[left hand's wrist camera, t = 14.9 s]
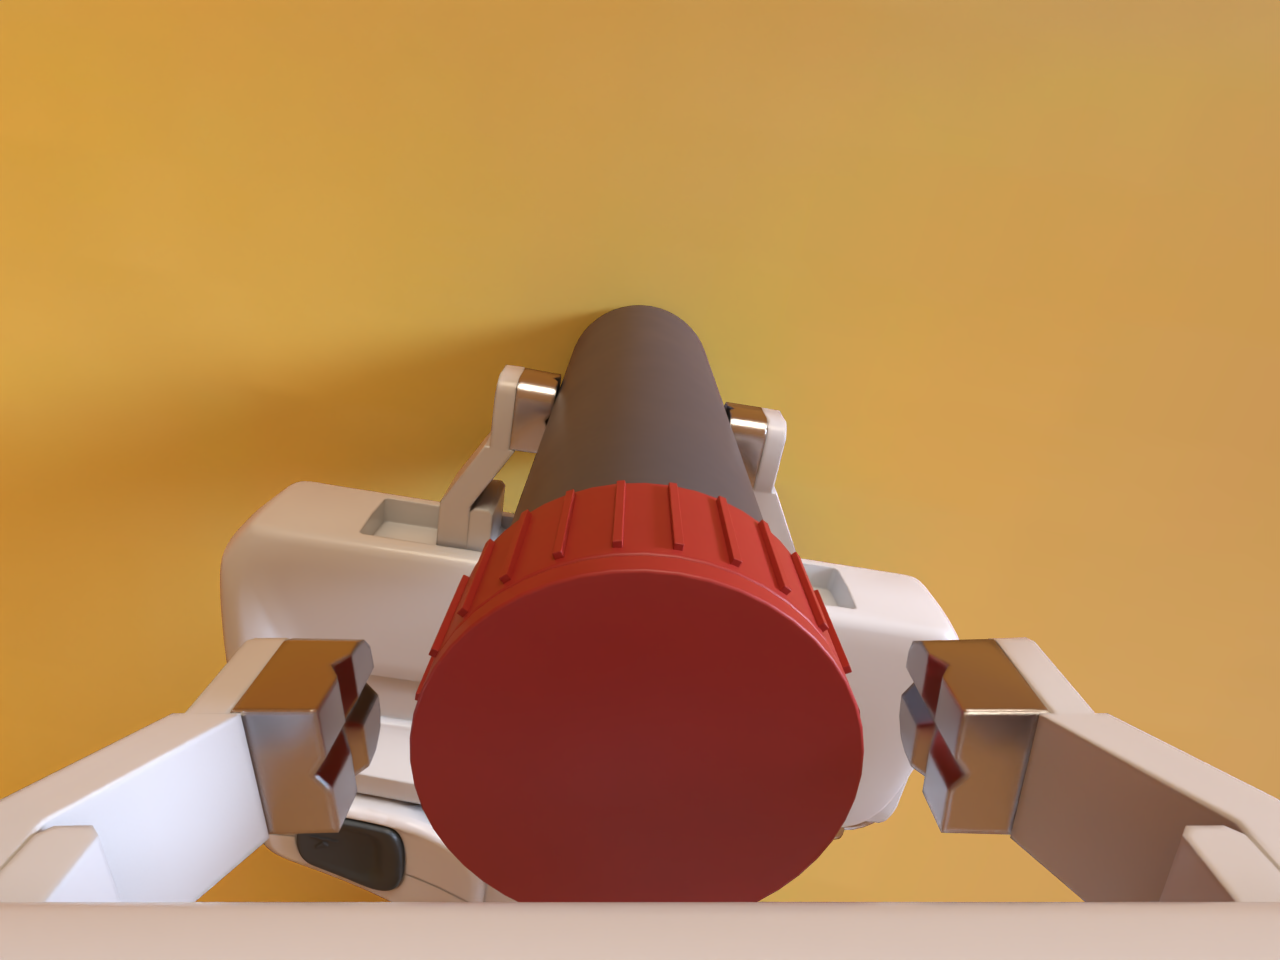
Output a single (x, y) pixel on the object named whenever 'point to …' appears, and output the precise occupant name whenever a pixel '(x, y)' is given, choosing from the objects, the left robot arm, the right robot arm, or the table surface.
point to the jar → (638, 416)
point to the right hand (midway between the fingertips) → (643, 392)
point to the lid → (636, 706)
